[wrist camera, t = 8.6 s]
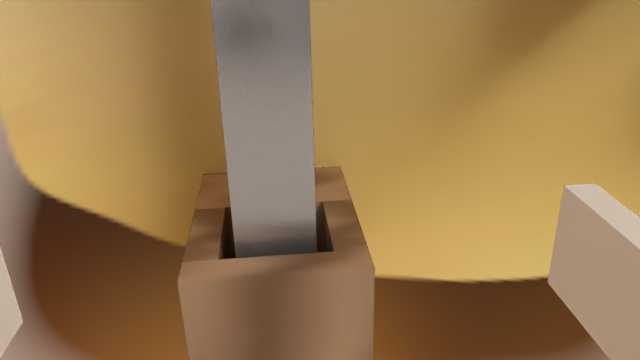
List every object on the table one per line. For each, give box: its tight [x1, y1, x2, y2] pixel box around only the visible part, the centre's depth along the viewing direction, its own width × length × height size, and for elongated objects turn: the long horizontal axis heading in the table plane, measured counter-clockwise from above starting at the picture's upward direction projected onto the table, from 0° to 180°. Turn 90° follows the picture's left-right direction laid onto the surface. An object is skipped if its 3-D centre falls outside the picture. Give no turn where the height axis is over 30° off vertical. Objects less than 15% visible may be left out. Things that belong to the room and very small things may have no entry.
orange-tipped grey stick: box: [210, 0, 317, 258], centre depth 23 cm, size 4×25×4 cm, turn 2°
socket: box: [177, 167, 375, 360], centre depth 29 cm, size 8×6×11 cm
